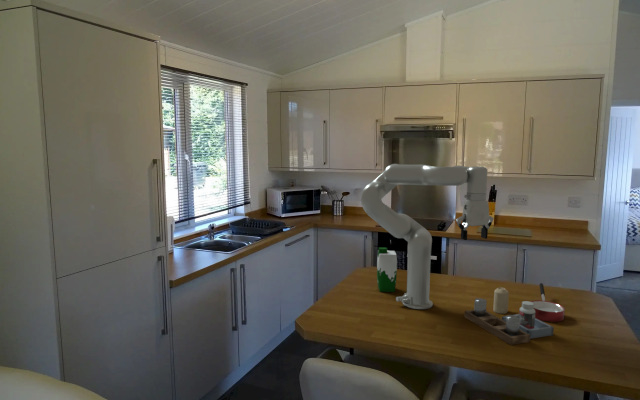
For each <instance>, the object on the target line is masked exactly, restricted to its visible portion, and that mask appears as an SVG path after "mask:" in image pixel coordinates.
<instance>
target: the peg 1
mask: <svg viewBox="0 0 640 400" xmlns="http://www.w3.org/2000/svg"><path fill="white" fill-rule="evenodd" d="M473 305H474V306H473V310H474V315H475V316H477V317H485V316H486V311H487V299H485V298H480V297H475V299H474V304H473Z"/></svg>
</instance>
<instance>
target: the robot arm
mask: <svg viewBox="0 0 640 400" xmlns="http://www.w3.org/2000/svg"><path fill="white" fill-rule="evenodd" d="M464 184H466V194H464V196H463V197H464V198H465V199H466V200H465V201H464V204H463V206H462V207H463V208H462V215H461V216H459V217H458V218H456V220H455V222H456V224H457V226H458V227H459V229H460V239H461V240H464V241H467V240H468V230H467V229H468V228H469V227H470V226H471V227H478V226H481V229H480V231H481V232H480V238H482V239H488V234H489V233H488V232H489V229H490V227H491V226H492V224H493V222H494V219H495V218H494V217H493V216H491V215H490V206H489V201H488V200H487V190H488V189H487V188H488V187H487V186H488V185H487V184H488V168H487V167H485V166H463V165H453V166H433V165H432V166H431V165H428V164H421V163H420V164H400V163H399V164H398V163H392V164H389V165H388V166H386V168H385V169H384V171H383V172H382V173H381V174H380V175H378V176H377V177H376V178H375V179H373V181H372V182H370V183H368V184H366V186H364V188H363V190H362V192H361V199H360V201H361V206H362V209H363V211H364V212H365V213H366V215H367V216H368V217H370V219H372V220H373V221H374V222H376V223H377V224H378V225H379V226H380V227H381V228H383V229H384V230H386V232H388V233H389V234H390V235H391V236H393V237H394V238H397V239H404V240H405V241H406V242H407V266H406V267H407V268H406V269H407V271H406V272H407V273H406V275H407V276H406V292H404V294H403V295H401V296H396V297H395V301H396V302H401V303H402V304H403V306H405V307H407V308H409V309H414V310H427V309H431V308H433V301H432V300H430V288H431V287H430V285H431V284H430V281H431V280H430V279H431V258H432V257H431V255H432V245H433V244H432V243H433V238H432V234H431V233H430V231H429V230H427V229H426V228H425V227H424V226H423V225H421V224H420V223H418V221H416V220H415V219H414V218H412V217H411V216H409V215H408V214H405V213H397V212H396V211H395V210H394V209H392V208H391V207H390V206H388V205H387V204H385V202H383V201H382V199H383V198H385V197H386V196H387V194H388V193H390V192H391V191H392V190H394V189H395V188H396V187H397V186H399V185H404V186H406V185H408V186H409V185H410V186H411V185H412V186H450V187H451V186H452V187H455V186H456V187H457V186H461V185H464Z"/></svg>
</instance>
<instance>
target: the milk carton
mask: <svg viewBox="0 0 640 400" xmlns="http://www.w3.org/2000/svg"><path fill="white" fill-rule="evenodd" d="M376 260H377V261H376V267H377V268H376V282H377V289H378V291H379V292H380V293H381V292H383V293H385V292H387V293H388V292H389V293H391V292H392V293H396V285H397V278H398V277H397V272H398V271H397V268H398V258H397V253H396V251H395V250H388V247H384V246H382V247H378V249H377V259H376Z"/></svg>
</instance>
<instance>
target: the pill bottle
mask: <svg viewBox="0 0 640 400" xmlns="http://www.w3.org/2000/svg"><path fill="white" fill-rule="evenodd" d="M533 308H534V304H533V303H532V302H530V301H528V300H525V301H521V307H519V313H518V314H519V317H520V325H522V326H524V327H526V328H527V329H534V324H535V310H534V309H533Z"/></svg>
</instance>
